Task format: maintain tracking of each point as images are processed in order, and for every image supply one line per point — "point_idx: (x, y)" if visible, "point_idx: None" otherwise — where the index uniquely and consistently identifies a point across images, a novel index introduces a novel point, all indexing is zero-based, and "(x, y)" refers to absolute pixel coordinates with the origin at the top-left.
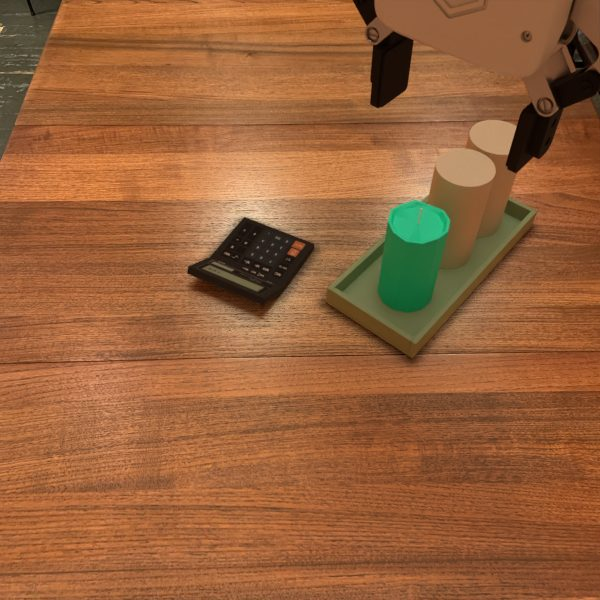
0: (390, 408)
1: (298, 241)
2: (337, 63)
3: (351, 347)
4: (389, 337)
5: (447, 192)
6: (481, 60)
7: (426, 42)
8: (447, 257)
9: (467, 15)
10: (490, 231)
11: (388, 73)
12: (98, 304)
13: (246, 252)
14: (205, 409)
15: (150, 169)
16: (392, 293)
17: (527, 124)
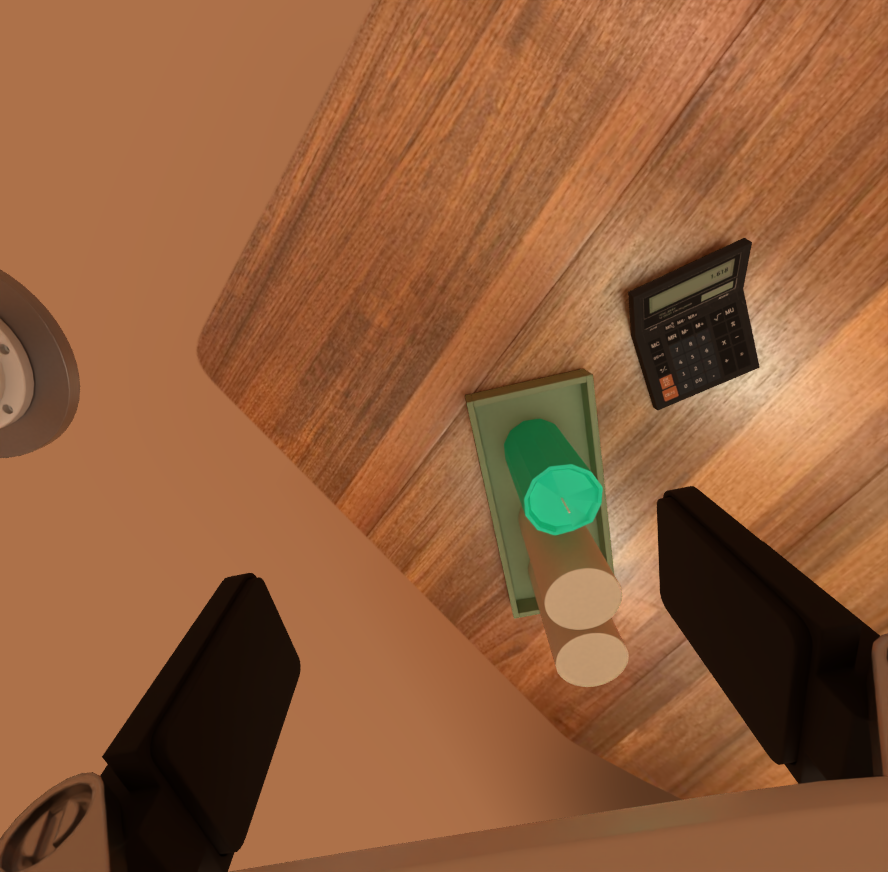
0: (432, 335)
1: (675, 397)
2: None
3: (517, 351)
4: (497, 391)
5: (572, 557)
6: None
7: (600, 849)
8: None
9: None
10: (530, 567)
11: (722, 585)
12: (803, 107)
13: (711, 333)
14: (564, 147)
15: None
16: (533, 428)
17: (139, 712)
